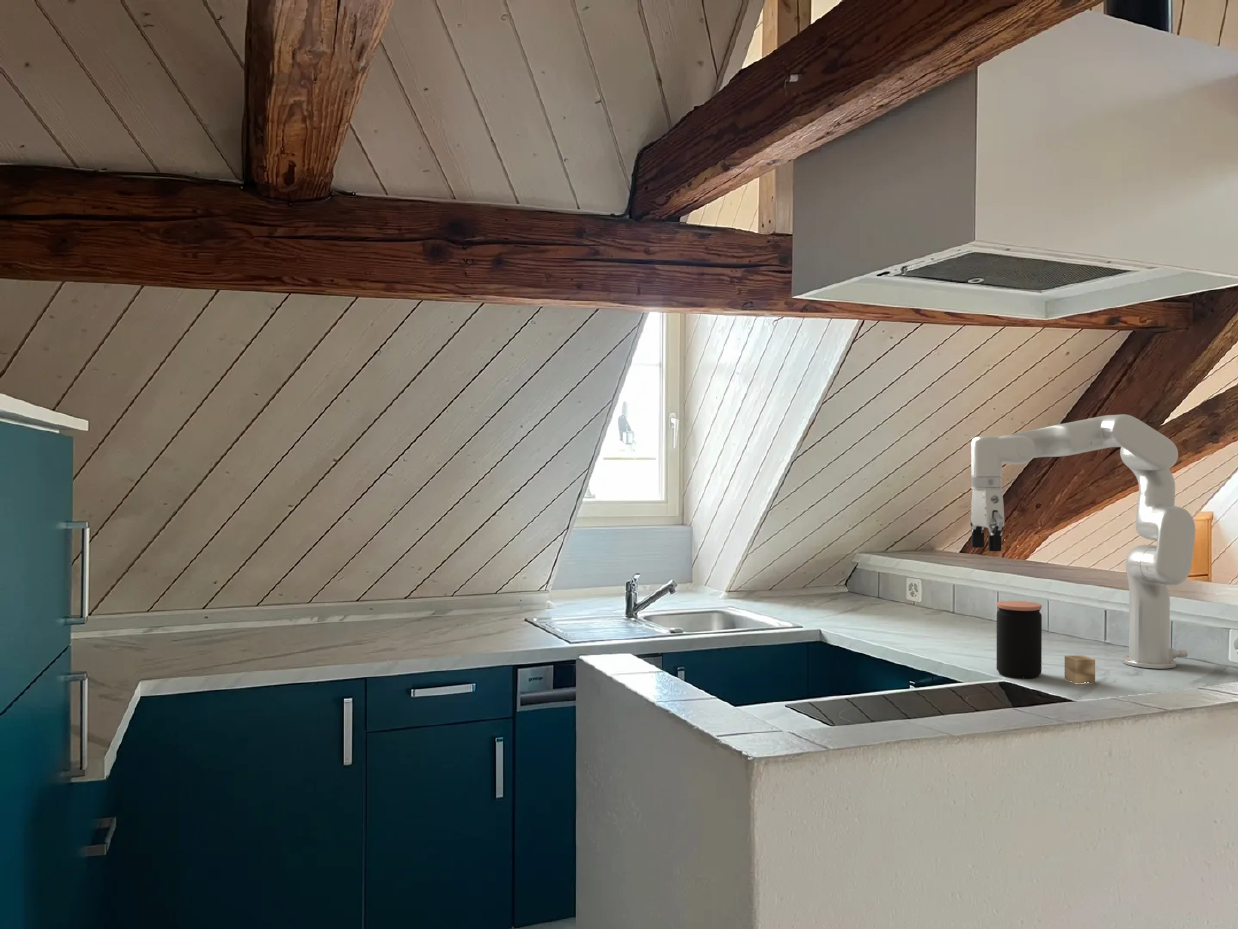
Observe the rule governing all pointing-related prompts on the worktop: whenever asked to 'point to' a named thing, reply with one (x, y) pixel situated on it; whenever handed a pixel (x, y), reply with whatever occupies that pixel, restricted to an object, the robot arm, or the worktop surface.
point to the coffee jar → (1019, 639)
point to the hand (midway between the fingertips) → (986, 549)
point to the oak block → (1080, 669)
